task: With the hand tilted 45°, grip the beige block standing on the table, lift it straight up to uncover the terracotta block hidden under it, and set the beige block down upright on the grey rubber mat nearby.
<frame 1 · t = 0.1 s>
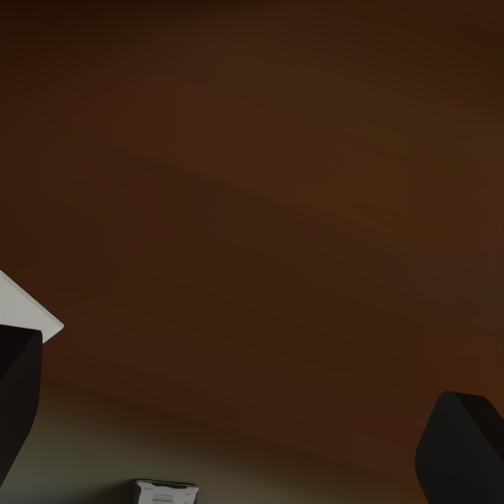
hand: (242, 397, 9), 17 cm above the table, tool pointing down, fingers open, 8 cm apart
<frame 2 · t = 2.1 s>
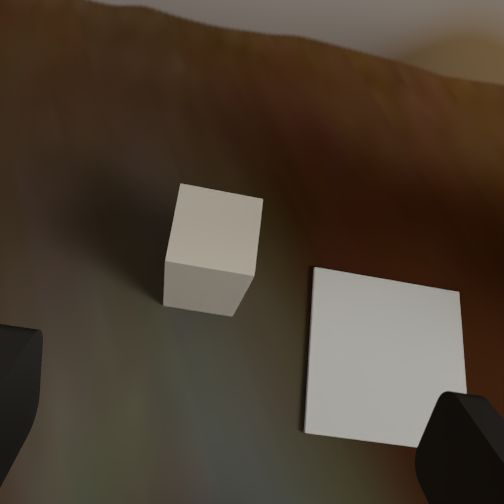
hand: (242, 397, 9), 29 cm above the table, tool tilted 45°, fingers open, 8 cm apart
mat: (387, 356, 41), on the table
beige block: (203, 278, 41), on the table
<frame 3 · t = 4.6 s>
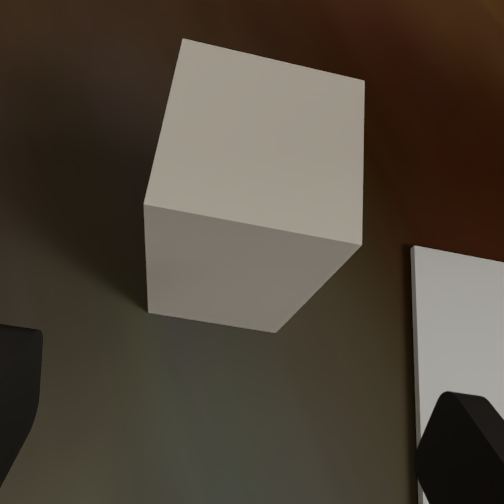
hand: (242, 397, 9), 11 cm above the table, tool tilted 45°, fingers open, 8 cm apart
beige block: (221, 264, 23), on the table
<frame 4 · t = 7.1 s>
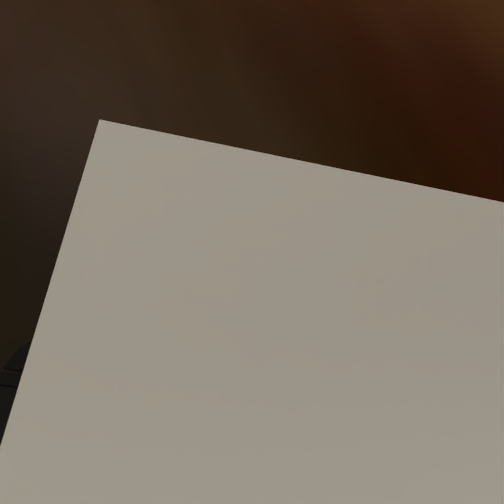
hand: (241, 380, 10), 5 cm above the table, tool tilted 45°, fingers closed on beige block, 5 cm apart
beige block: (211, 436, 14), on the table, touching gripper
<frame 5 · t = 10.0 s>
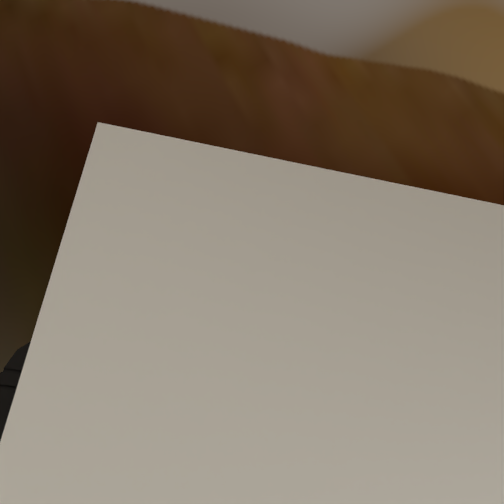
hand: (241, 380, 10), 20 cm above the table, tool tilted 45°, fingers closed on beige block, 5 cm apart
beige block: (211, 438, 14), point 15 cm above the table, touching gripper
when the fingers open (6 cm above the table, at t = 13.3 s): beige block drops 1 cm, resting on mat.
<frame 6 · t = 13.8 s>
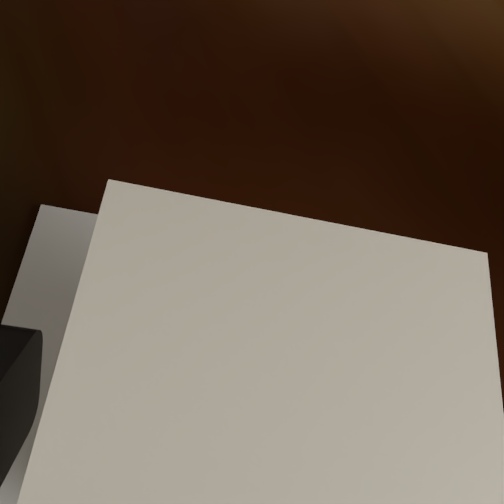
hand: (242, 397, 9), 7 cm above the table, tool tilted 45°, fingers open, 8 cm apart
mat: (205, 439, 15), on the table
beige block: (208, 444, 15), resting on mat
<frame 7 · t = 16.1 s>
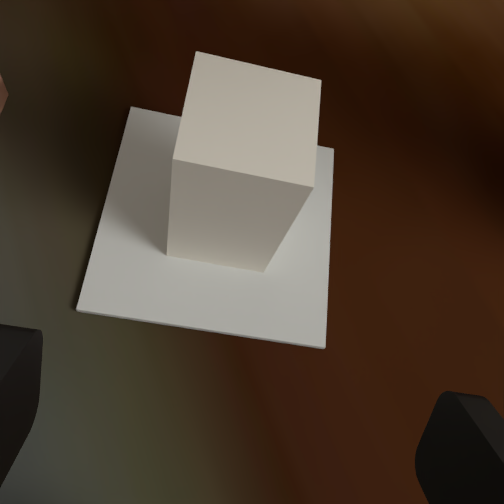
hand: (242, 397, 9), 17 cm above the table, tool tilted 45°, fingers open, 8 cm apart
mat: (220, 221, 30), on the table
beige block: (222, 221, 29), resting on mat
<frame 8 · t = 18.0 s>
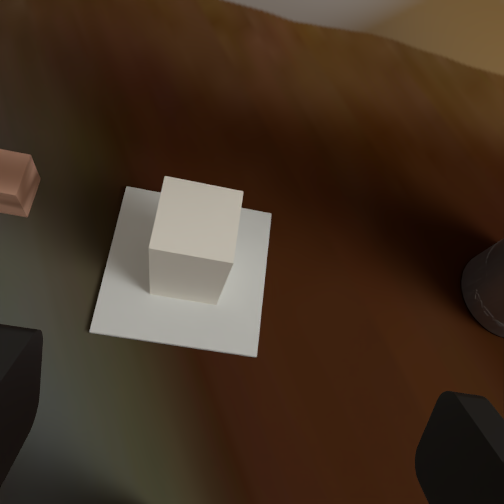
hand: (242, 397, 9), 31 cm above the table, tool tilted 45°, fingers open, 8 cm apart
mat: (188, 268, 43), on the table
terracotta block: (11, 194, 43), on the table
beige block: (188, 269, 42), resting on mat
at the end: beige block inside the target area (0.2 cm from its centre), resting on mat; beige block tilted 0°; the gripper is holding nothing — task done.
